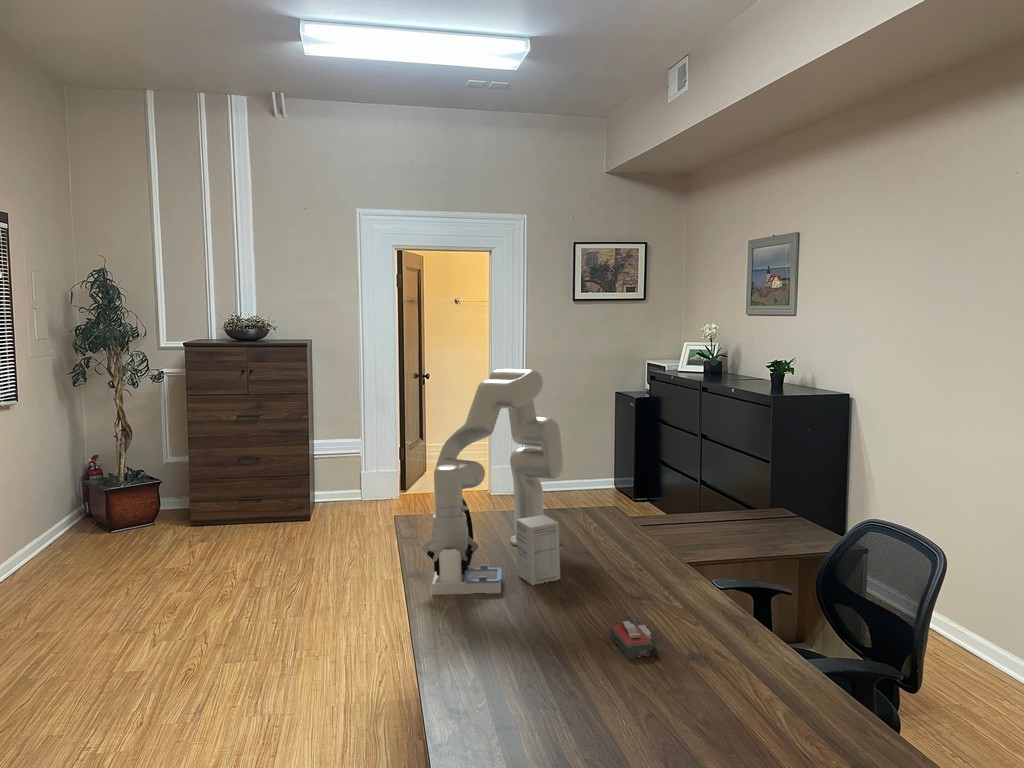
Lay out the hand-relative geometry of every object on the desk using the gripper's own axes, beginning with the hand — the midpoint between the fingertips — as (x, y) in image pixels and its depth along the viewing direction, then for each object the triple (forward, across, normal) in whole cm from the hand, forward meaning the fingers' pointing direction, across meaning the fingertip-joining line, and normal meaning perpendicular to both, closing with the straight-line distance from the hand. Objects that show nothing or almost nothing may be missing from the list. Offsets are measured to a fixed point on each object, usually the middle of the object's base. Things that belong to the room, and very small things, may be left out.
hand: (451, 572), depth 198 cm
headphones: (+4, 0, -19) cm, 19 cm away
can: (+4, 0, 0) cm, 4 cm away
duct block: (+4, -4, 0) cm, 6 cm away
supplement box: (+4, -24, -6) cm, 26 cm away
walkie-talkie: (+5, -44, +33) cm, 56 cm away
